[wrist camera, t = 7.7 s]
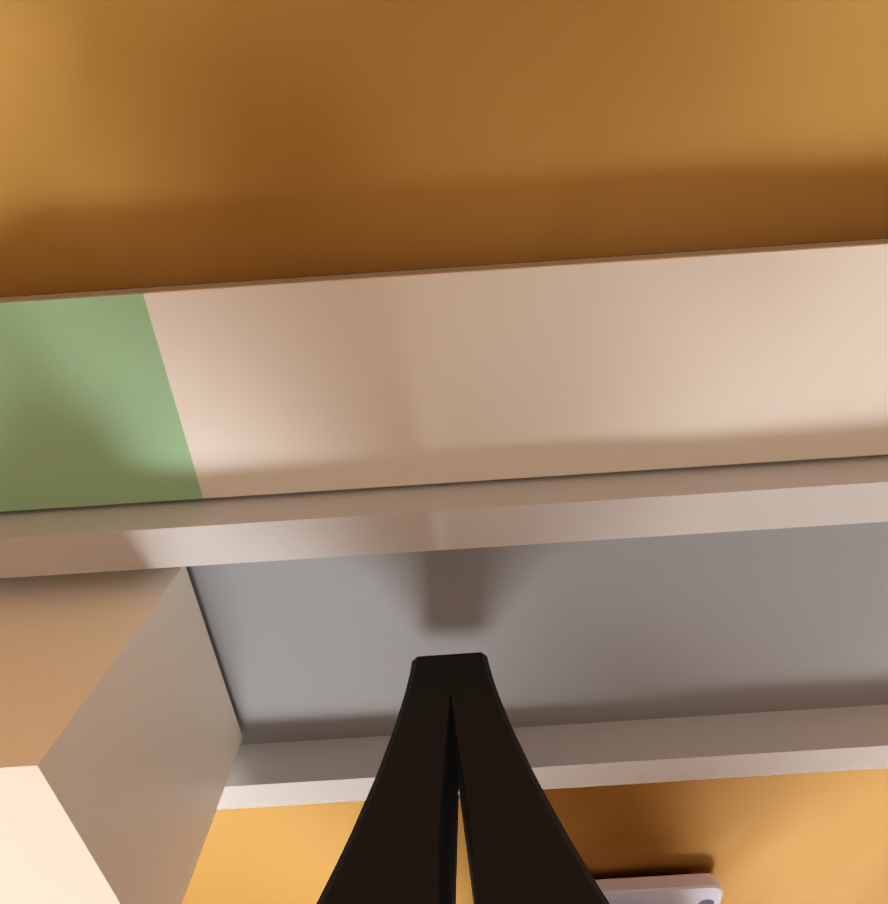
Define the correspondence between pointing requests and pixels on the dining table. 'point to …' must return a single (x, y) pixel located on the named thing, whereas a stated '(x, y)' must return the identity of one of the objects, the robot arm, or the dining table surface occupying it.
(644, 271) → the gauge board
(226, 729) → the gauge slider
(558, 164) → the dining table surface
